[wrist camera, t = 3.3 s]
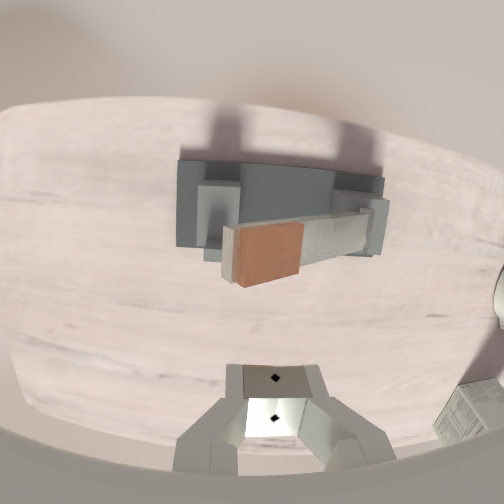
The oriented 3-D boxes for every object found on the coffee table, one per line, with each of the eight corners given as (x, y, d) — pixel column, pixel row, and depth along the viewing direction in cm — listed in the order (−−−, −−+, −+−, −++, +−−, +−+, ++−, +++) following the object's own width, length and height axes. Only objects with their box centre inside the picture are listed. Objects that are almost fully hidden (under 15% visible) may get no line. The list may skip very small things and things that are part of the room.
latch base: (381, 177, 36) (418, 188, 28) (369, 254, 39) (399, 283, 31) (179, 160, 35) (160, 166, 26) (177, 244, 38) (161, 273, 29)
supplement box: (430, 427, 54) (461, 484, 38) (457, 384, 50) (498, 442, 33) (470, 418, 55) (501, 466, 39) (495, 376, 51) (535, 425, 34)
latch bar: (365, 206, 31) (383, 211, 29) (358, 247, 32) (375, 254, 31) (221, 219, 21) (241, 227, 19) (219, 281, 22) (237, 293, 21)
